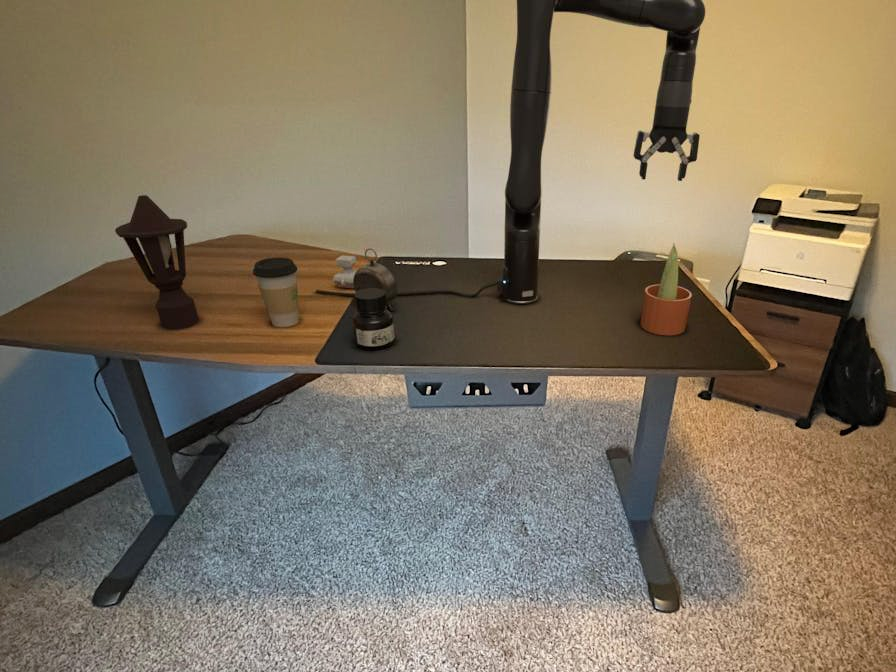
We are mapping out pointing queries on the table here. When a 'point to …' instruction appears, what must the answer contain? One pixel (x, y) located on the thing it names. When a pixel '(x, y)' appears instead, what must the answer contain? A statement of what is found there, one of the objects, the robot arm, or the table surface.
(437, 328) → the table surface
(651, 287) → the pen cup
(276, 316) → the coffee cup
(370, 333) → the ink bottle
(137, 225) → the lantern
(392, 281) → the alarm clock
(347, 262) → the stamp
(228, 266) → the table surface
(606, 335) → the table surface
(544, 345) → the table surface
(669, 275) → the tube
